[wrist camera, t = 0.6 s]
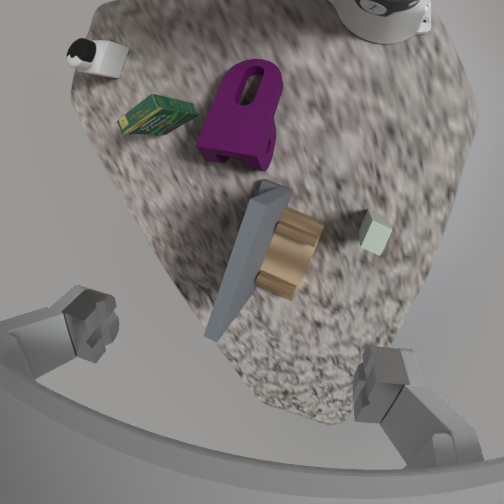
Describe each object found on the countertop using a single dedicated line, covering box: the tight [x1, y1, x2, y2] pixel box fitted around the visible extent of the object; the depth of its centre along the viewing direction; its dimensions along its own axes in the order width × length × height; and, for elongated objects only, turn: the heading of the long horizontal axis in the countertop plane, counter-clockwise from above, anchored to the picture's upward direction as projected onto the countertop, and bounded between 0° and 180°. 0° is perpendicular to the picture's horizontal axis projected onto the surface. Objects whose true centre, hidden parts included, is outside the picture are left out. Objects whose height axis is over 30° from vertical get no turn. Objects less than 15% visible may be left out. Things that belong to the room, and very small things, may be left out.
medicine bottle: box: [67, 38, 129, 78], centre depth 49 cm, size 7×7×12 cm
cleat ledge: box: [255, 207, 326, 301], centre depth 52 cm, size 14×7×6 cm, turn 161°
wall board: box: [204, 179, 293, 342], centre depth 48 cm, size 20×5×18 cm, turn 161°
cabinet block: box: [359, 209, 392, 256], centre depth 45 cm, size 4×3×10 cm
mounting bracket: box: [196, 59, 283, 171], centre depth 49 cm, size 9×8×18 cm
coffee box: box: [117, 94, 198, 135], centre depth 48 cm, size 8×3×13 cm, turn 115°
